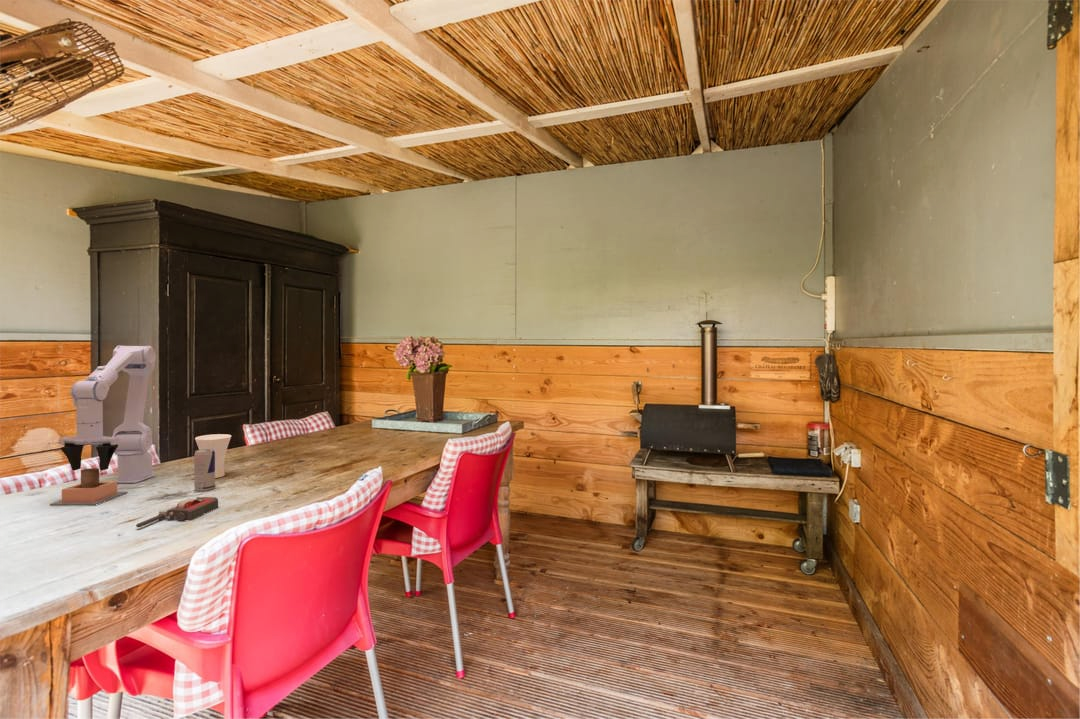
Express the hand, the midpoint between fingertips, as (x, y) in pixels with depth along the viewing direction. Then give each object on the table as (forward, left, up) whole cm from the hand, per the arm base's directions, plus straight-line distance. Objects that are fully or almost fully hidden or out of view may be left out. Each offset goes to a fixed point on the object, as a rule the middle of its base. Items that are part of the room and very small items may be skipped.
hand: (90, 469), depth 149 cm
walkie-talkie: (+16, +35, -9) cm, 39 cm away
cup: (-26, +20, -9) cm, 34 cm away
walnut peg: (0, 0, -8) cm, 8 cm away
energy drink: (-10, +26, -9) cm, 29 cm away
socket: (0, 0, -9) cm, 9 cm away
